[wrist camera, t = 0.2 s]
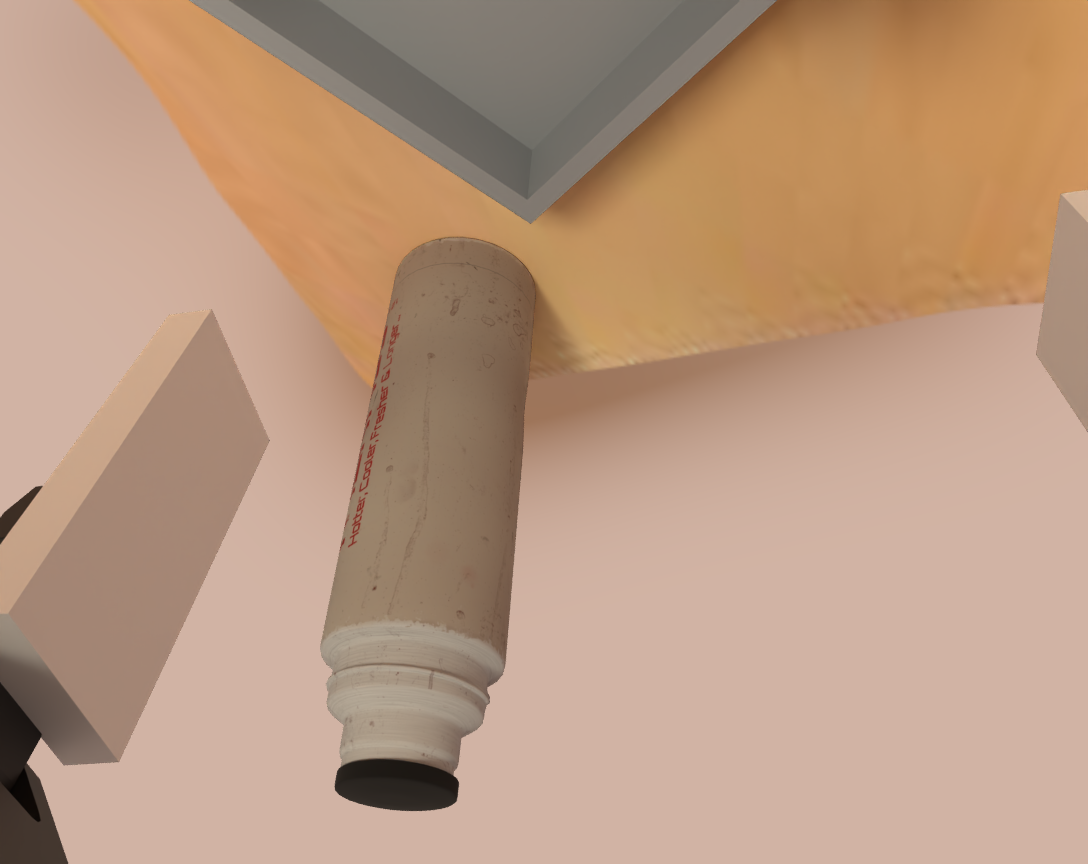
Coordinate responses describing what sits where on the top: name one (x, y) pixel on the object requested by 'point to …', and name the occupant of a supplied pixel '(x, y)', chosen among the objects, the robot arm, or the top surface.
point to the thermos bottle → (431, 526)
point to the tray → (498, 74)
